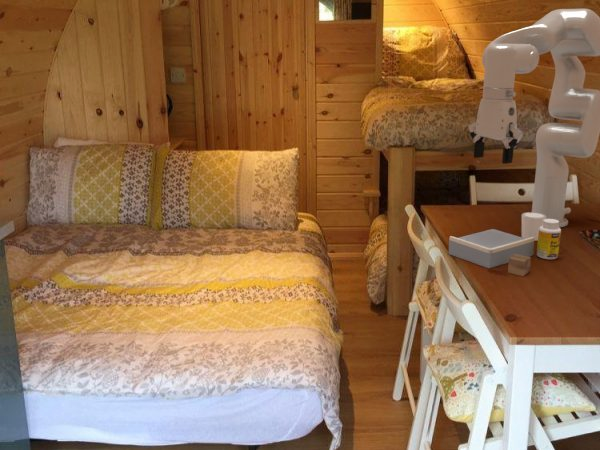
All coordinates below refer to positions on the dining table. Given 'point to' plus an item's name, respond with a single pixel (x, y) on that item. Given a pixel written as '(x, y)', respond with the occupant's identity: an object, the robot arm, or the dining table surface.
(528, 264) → the light brown cube
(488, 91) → the robot arm
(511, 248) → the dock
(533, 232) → the white cup
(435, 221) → the dining table surface
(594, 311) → the dining table surface
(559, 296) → the dining table surface
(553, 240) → the supplement bottle
